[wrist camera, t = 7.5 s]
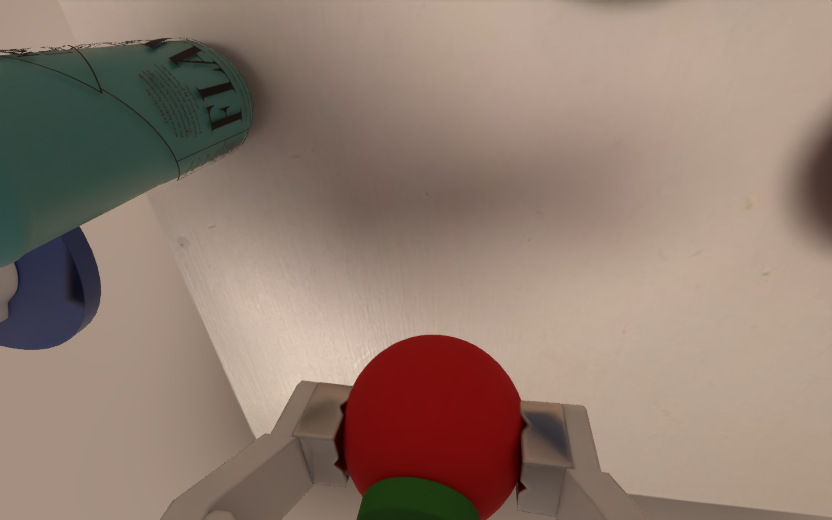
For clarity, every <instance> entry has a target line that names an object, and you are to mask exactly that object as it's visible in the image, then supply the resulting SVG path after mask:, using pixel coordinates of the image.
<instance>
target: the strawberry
mask: <svg viewBox="0 0 832 520" xmlns="http://www.w3.org/2000/svg"><path fill="white" fill-rule="evenodd" d="M520 402H521V399H520V397H519V394H518V392H517V390H516V388H515V386H514V384H513V382H512V381H511V379H510V377H509V376H508V375H507V373H506V372H505V371H504V369H503V368H502V367H501V366H500V365H499V363H498V362H496V361H495V360H494V359H493V358H492V357H491V356H490V355H489V354H487V353H486V352H485V351H483V350H482V349H480V348H479V347H477V346H475V345H473V344H471V343H469V342H467V341H464V340H461V339H458V338H455V337H450V336H444V335H420V336H415V337H411V338H408V339H405V340H402V341H400V342H397V343H395V344H393V345H391V346H390V347H388V348H387V349H385V350H384V351H382V352H381V353H379V354H378V355H377V356H376V357H375V358H374V359H373V360H372V361H371V362H370V363H369V364H368V365H367V366H366V367H365V368H364V370H363V371H362V372H361V374H360V375H359V377H358V378H357V379H356V381H355V383H354V385H353V388H352V390H351V392H350V395H349V398H348V401H347V404H346V407H345V412H344V428H343V450H344V457H345V461H346V464H347V467H348V470H349V473H350V476H351V478H352V480H353V482H354V483H355V486H356V488H357V489H358V491H359V492H360V494H361V495H362V497H363V498H362V502H361V506H360V510H359V513H358V516H357V520H486V519H488V518H489V517H490V516H491V515H492V514H493V513H495V512H496V511H497V510H498V509H499V508H500V507H501V506H502V504H503V503H504V502H505V501H506V499H507V498H508V497H509V496H510V494H511V492H512V490H513V489H514V487H515V485H516V483H517V481H518V477H519V475H520V467H519V462H520V436H521V432H522V431H523V430H524V428H523V424H522V420H521V417H520Z"/></svg>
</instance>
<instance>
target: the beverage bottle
mask: <svg viewBox="0 0 832 520" xmlns="http://www.w3.org/2000/svg"><path fill="white" fill-rule="evenodd" d="M181 38H182V37H180V39H181ZM167 39H171V38H162V39H156V40H149V41H150V42H147V43H145V44H141V43H140V44H134V45H125V44H122V46H121V45H117V46H116V44H117V43H116V44H115V46H110V47H97V48H94V47H93V48H89V47H91V46H93V45H95V44H93V43H92V44H93V45H90V44H88V45H90V46H88V48H87V47H85V49H76V48H75V47H72V46H71V47H72V48H74V49H72V48H71V49H69V50H63V49H62V50H61V51H58V50H57V49H56V48H55V50H56V51H55V50H53V49H52V48H51V49H52V51H50V50H49V52H48V51H41V52H36V53H34V52H27V53H24V54H22V53H23V52H26V50H22V49H21V51H19V50H16V49H13V50H14V51H17V52H22V53H21V54H17V53H15V52H4V50H0V52H4V53H13V54H12V55H0V268H2V267H5V266H7V265H9V264H11V263H13V262H15V261H17V260H19V259H20V258H21V257H22V256H23V255H24V254H26V253H28V252H30V251H32V250H33V249H35V248H37V247H39V246H41V245H43V244H45V243H47V242H49V241H51V240H53V239H55V238H57V237H59V236H61V235H63V234H65V233H67V232H69V231H70V230H72V229H74V228H76V227H78V226H80V225H82V224H84V223H86V222H88V221H90V220H92V219H94V218H96V217H98V216H100V215H102V214H103V213H105V212H107V211H109V210H111V209H113V208H115V207H117V206H119V205H121V204H123V203H125V202H127V201H129V200H131V199H133V198H135V197H137V196H139V195H141V194H143V193H145V192H146V191H148V190H150V189H152V188H154V187H156V186H158V185H160V184H163V183H166V182H168V181H170V180H172V179H175V178H177V177H178V179H179V177H180V176H181V175H183V174H185V173H186V174H187V172H189V171H191V170H192V171H193V170H194V169H195V168H197V167H199V166H201V165H203V164H206V163H207V162H209V161H211V160H212V161H213V159H215V158H216V159H217V158H218V157H219V156H220V157H221V156H222V155H223V154H225V153H227V152H229V151H232V150H233V149H234V148H235V147H237V146H239V145H240V143H241V142H242V141H243V139H244V138H245V136H246V135H248V131H249V129H250V126H251V122H252V112H253V110H252V101H251V96H250V93H249V90H248V87H247V85H246V83H245V81H244V79H243V77H242V76H241V74H240V73H239V71H238V70H237V69H236V68H235V66H234V65H233V64H232V63H231V62H230V61H229V60H228V59H227V58H226V57H224V56H223V55H222V54H220V53H219V52H217V51H216V50H214V49H212V48H211V47H209V46H207V45H206V46H205V44H204V45H202V44H203V43H202V44H199V43H196V42H193V41H189V40H188V41H169V42H162V41H165V40H167ZM188 39H189V38H188ZM186 40H187V39H186ZM192 40H194V39H192ZM137 41H138V40H137ZM139 41H142V40H139ZM195 41H196V40H195ZM127 42H130V41H127ZM127 42H126V44H128V43H127ZM132 42H133V41H132ZM132 42H130V43H132ZM134 42H135V41H134ZM198 42H199V41H198ZM107 43H108V42H106V43H105V44H107ZM109 43H110V44H111V43H112V42H109ZM122 43H123V42H122ZM137 43H138V42H137ZM200 43H201V42H200ZM96 44H97V43H96ZM103 44H104V43H103ZM119 44H121V43H119ZM83 45H85V44H83ZM99 45H100V44H99ZM111 45H112V44H111ZM113 45H114V44H113ZM68 46H70V45H68ZM78 46H80V45H78ZM78 46H77V47H78ZM97 46H98V45H97ZM63 47H64V46H63ZM81 47H83V46H81ZM81 47H79V48H81ZM95 47H96V46H95ZM28 49H29V48H28ZM13 50H12V49H11V50H10V51H13ZM5 51H6V50H5ZM246 137H247V136H246ZM245 139H246V138H245ZM244 141H245V140H244ZM242 144H243V143H242ZM236 149H237V148H236ZM232 153H233V152H232ZM227 154H228V153H227ZM230 154H231V153H230ZM225 155H226V154H225ZM225 155H224V157H225ZM228 155H229V154H228ZM226 156H227V155H226ZM220 157H219V158H220ZM222 158H223V157H222ZM216 159H215V160H216ZM215 160H214V161H215ZM212 161H211V162H212ZM214 161H213V162H214ZM209 163H210V162H209ZM186 174H185V175H186ZM185 175H184V176H185ZM189 175H190V174H189ZM187 176H188V175H187ZM185 177H186V176H185ZM183 178H184V177H183ZM181 179H182V178H181ZM179 180H180V179H179ZM177 181H178V180H177Z"/></svg>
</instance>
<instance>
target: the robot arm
mask: <svg viewBox="0 0 832 520" xmlns="http://www.w3.org/2000/svg"><path fill="white" fill-rule="evenodd" d="M17 287H18V274H17V269H16V266H15V263H14V262H13V263H11V264H9V265H7V266H5V267H2V268H0V322H2V321H4V320H6V319H7V318H8V302H9V300H10V299H11V298H12V297H13V296H14V294H15V293H16V290H17ZM352 388H353V386H348V385H339V384H331V383H322V382H312V381H301V382H300V383H299V384H298V385H297V386H296V388H295V390H294V392H293V394H292V395H291V397H290V399H289V401H288V403H287V405H286V406H285V408H284V410H283V412H282V414H281V416H280V418H279V419H278V421H277V423H276V425H275V427H274V429H273V430H272V432H271V434H264V435H262V436H261V437H260V438H258V439H257V440H256V441H254V442H253V443H252V444H250V445H249V446H247V447H246V448H245V449H243V450H242V451H241V452H239V453H238V454H236V455H235V456H234V457H232V458H231V459H230V460H228V461H227V462H225V463H224V464H223V465H221V466H220V467H218V468H217V469H216V470H214V471H213V472H212V473H210V474H209V475H208V476H206V477H205V478H204V479H202V480H201V481H199V482H198V483H197V484H195V485H194V486H193V487H191V488H190V489H188V490H187V491H186V492H184V493H183V494H181V495H180V496H179V497H177V498H176V499H175V500H173V501H172V503H171V504H170V506H169V507H168V509H167V510H166V512H165V513H164V514H163V516H162V517H161V519H160V520H281V519H282V518H283V517H284V516H285V515H286V514H287V513H288V512H289V511H290V510H291V509H292V508H293V507H294V506H295V505H296V504H297V503H298V501H299V500H300V499H301V498H302V497H303V496H304V495H305V494H306V493H307V492H308V491H309V490H310V489H311V488H312V487H313V484H317V485H327V486H337V487H346V485H347V482H348V479H349V476H350V473H349V470H348V467H347V464H346V461H345V457H344V450H343V428H344V412H345V407H346V404H347V401H348V398H349V395H350V392H351V390H352ZM520 417H521V420H522V424H523V428H524V430H523V431H522V432H521V436H520V462H519V467H520V475H519V477H518V481H517V483H516V495H517V511H522V512H528V513H535V514H541V515H547V516H553V517H556V520H650V519H649V518H648V517H647V516H646V515H645V514H644V513H643V511H642V510H641V509H640V508H639V507H638V506H637V505H636V503H635V502H634V501H633V500H632V499H631V498H630V497H629V496H628V494H627V493H626V492H625V491H624V490H623V489H622V488H621V487H620V485H619V484H618V483H617V482H616V481H615V480H614V479H613V478H612V476H611V475H610V474H609V473H605V472H601V469H600V464H599V460H598V456H597V452H596V447H595V443H594V439H593V435H592V431H591V426H590V422H589V418H588V414H587V410H586V408H585V407H584V406H581V405H569V404H560V403H549V402H536V401H523V400H521V402H520Z"/></svg>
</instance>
